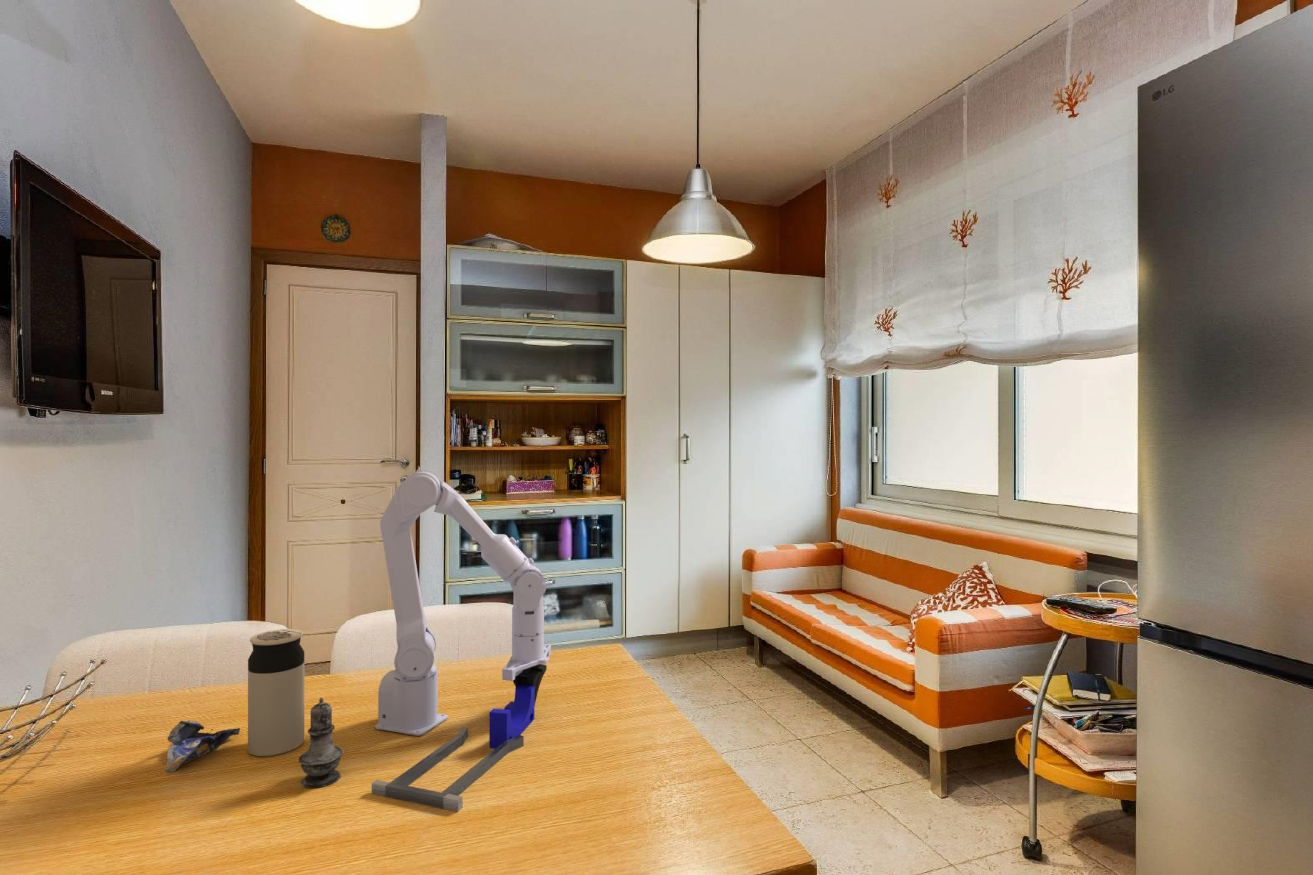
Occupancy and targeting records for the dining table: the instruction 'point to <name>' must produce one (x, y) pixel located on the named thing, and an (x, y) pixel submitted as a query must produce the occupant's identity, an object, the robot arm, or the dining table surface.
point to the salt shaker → (321, 750)
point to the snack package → (193, 742)
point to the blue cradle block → (512, 716)
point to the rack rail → (451, 794)
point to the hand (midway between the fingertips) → (527, 706)
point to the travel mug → (275, 692)
